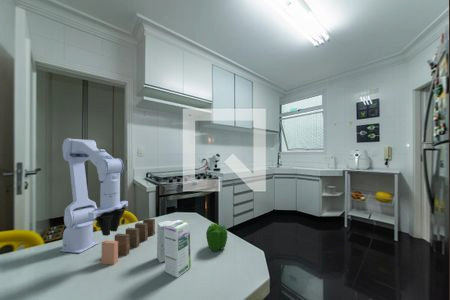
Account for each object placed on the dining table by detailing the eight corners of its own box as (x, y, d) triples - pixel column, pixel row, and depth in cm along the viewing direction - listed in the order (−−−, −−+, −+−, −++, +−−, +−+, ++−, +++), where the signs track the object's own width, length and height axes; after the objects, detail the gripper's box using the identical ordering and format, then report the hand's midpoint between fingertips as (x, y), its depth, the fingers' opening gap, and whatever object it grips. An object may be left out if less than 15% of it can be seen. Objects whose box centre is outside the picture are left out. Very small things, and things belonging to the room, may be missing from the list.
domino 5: (152, 235, 81) (152, 220, 81) (143, 234, 81) (143, 219, 82) (154, 234, 82) (154, 219, 82) (145, 233, 83) (145, 218, 83)
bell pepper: (221, 241, 74) (221, 217, 75) (231, 250, 67) (230, 223, 67) (202, 245, 70) (202, 220, 71) (210, 256, 63) (210, 227, 64)
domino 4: (145, 241, 75) (145, 224, 75) (134, 240, 76) (134, 224, 76) (147, 239, 77) (147, 223, 77) (137, 238, 78) (137, 222, 78)
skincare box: (159, 263, 59) (159, 226, 60) (156, 257, 63) (156, 222, 63) (177, 257, 63) (177, 222, 63) (173, 251, 66) (173, 219, 67)
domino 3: (136, 247, 70) (136, 230, 70) (125, 246, 71) (125, 229, 71) (139, 245, 71) (139, 228, 72) (128, 245, 72) (128, 227, 73)
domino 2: (126, 255, 64) (126, 236, 65) (114, 254, 65) (114, 235, 66) (129, 253, 66) (129, 234, 66) (117, 252, 67) (117, 233, 67)
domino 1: (114, 264, 59) (114, 243, 59) (101, 263, 60) (101, 242, 60) (117, 261, 61) (118, 241, 61) (105, 260, 61) (105, 240, 62)
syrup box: (177, 278, 52) (177, 228, 52) (164, 271, 55) (164, 224, 55) (191, 267, 56) (190, 222, 57) (178, 262, 60) (177, 218, 60)
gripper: (102, 198, 53) (101, 244, 53) (134, 189, 68) (134, 225, 67) (82, 197, 55) (81, 242, 54) (119, 189, 69) (118, 224, 68)
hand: (110, 233), depth 61 cm, fingers open, 3 cm apart
